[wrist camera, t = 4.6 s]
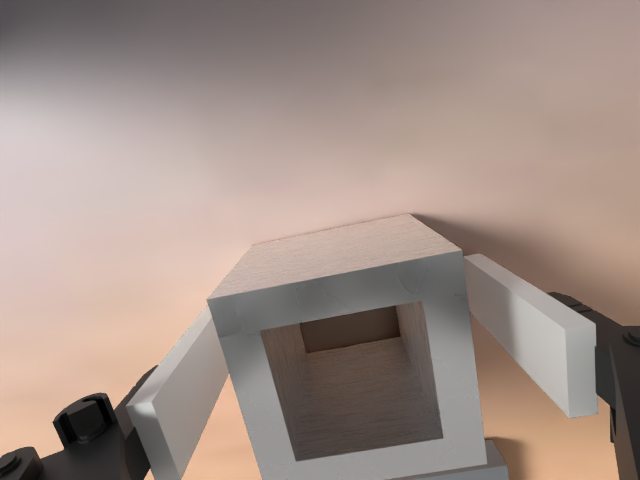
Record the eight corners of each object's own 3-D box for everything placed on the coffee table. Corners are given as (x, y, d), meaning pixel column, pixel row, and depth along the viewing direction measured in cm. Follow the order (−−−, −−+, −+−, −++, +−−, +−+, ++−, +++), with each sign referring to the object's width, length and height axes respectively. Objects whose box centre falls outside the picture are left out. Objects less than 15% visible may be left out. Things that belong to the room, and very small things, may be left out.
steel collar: (252, 244, 15) (206, 299, 9) (408, 213, 15) (462, 249, 9) (288, 378, 17) (267, 497, 11) (429, 354, 16) (487, 464, 10)
